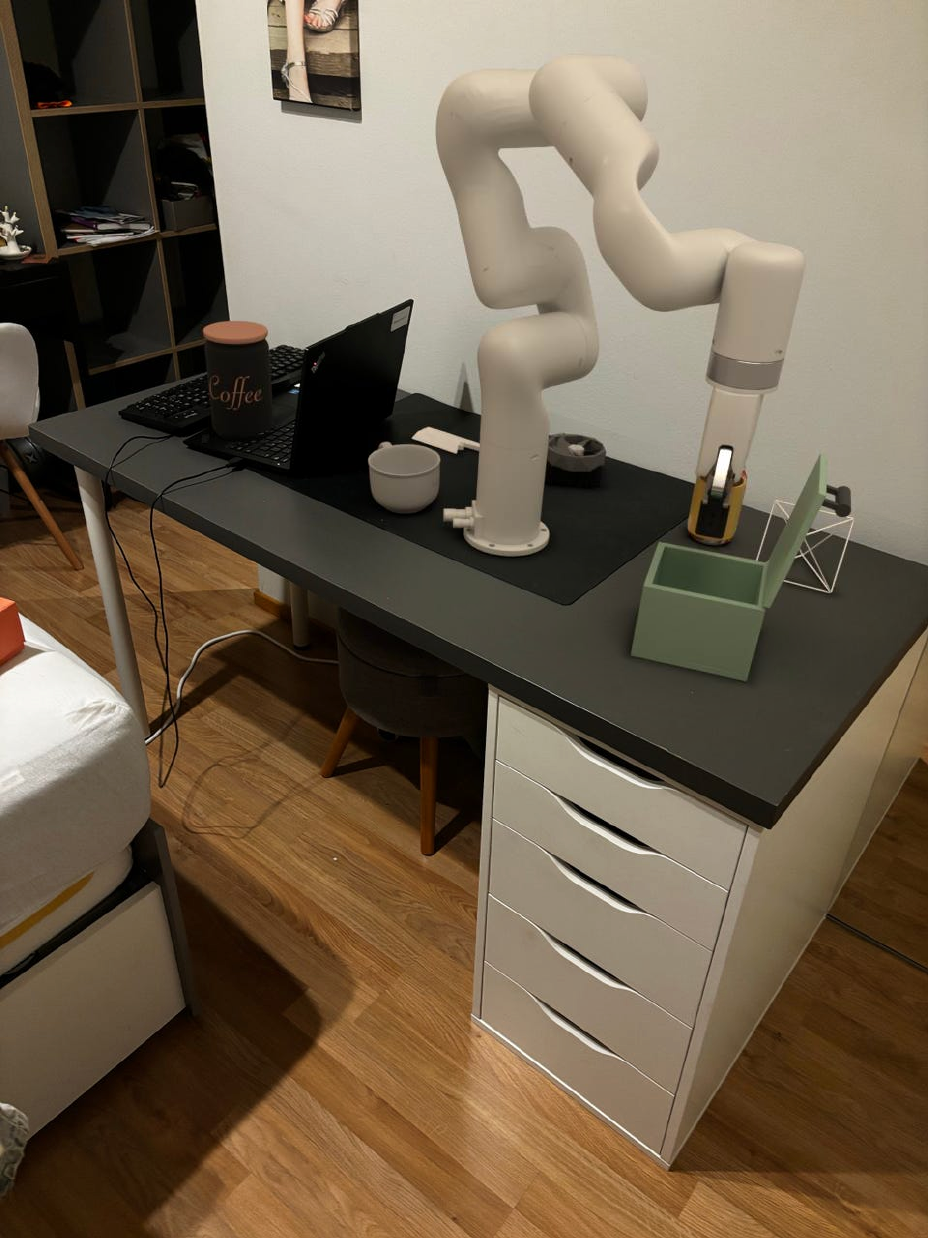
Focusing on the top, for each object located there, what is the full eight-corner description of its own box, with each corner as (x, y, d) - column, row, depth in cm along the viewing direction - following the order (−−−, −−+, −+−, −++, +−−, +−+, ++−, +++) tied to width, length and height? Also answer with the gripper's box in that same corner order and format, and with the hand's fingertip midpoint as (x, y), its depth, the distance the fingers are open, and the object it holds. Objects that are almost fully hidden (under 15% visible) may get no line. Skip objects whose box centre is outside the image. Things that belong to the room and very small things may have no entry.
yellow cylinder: (695, 540, 107) (705, 487, 103) (681, 519, 111) (691, 468, 108) (741, 540, 107) (753, 488, 104) (725, 519, 112) (736, 468, 108)
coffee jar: (203, 438, 164) (192, 335, 154) (226, 417, 173) (217, 317, 163) (262, 445, 163) (254, 341, 153) (282, 423, 172) (276, 323, 162)
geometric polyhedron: (765, 546, 140) (779, 490, 136) (841, 565, 137) (858, 508, 132) (747, 583, 131) (761, 525, 126) (828, 604, 127) (845, 545, 122)
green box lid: (818, 493, 97) (860, 507, 96) (820, 452, 107) (858, 465, 106) (762, 606, 105) (801, 620, 105) (769, 559, 115) (804, 571, 114)
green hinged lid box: (630, 655, 114) (643, 585, 109) (646, 608, 124) (658, 541, 119) (746, 681, 111) (765, 610, 106) (753, 630, 121) (771, 563, 115)
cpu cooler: (607, 458, 151) (544, 453, 151) (602, 491, 154) (540, 486, 154) (604, 434, 160) (545, 429, 160) (600, 466, 163) (542, 461, 163)
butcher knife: (479, 462, 161) (479, 456, 161) (411, 439, 169) (411, 433, 168) (496, 453, 165) (496, 447, 164) (429, 431, 172) (429, 425, 171)
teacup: (446, 517, 143) (448, 468, 139) (376, 523, 140) (376, 474, 136) (423, 479, 154) (425, 433, 150) (358, 484, 151) (357, 437, 147)
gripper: (716, 343, 107) (688, 490, 117) (698, 388, 93) (668, 550, 103) (784, 352, 105) (750, 500, 115) (776, 399, 91) (738, 563, 101)
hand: (712, 522), depth 109 cm, fingers closed on yellow cylinder, 5 cm apart
